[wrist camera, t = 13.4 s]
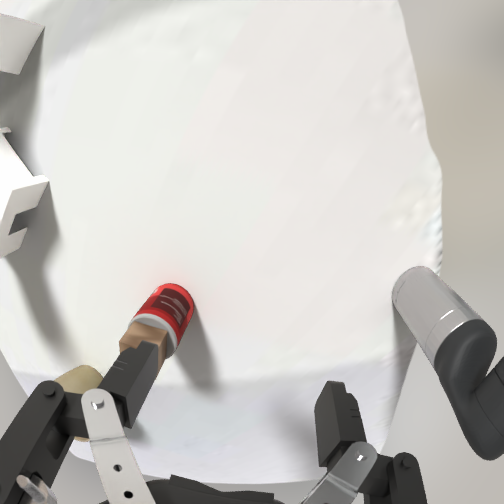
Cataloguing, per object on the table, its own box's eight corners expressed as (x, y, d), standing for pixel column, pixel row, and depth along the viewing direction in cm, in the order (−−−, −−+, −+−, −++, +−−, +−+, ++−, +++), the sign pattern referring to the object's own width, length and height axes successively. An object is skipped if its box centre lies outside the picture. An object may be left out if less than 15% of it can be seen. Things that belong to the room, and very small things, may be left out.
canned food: (155, 319, 50) (132, 356, 40) (150, 279, 47) (122, 312, 37) (196, 324, 49) (179, 364, 39) (193, 283, 47) (173, 319, 36)
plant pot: (116, 366, 55) (84, 416, 40) (119, 404, 60) (94, 450, 45) (63, 342, 55) (26, 383, 40) (71, 382, 60) (42, 421, 45)
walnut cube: (167, 330, 37) (155, 353, 32) (166, 357, 39) (155, 380, 34) (134, 320, 37) (119, 341, 32) (134, 347, 39) (121, 368, 34)
